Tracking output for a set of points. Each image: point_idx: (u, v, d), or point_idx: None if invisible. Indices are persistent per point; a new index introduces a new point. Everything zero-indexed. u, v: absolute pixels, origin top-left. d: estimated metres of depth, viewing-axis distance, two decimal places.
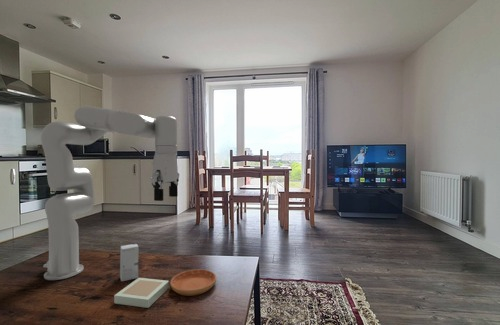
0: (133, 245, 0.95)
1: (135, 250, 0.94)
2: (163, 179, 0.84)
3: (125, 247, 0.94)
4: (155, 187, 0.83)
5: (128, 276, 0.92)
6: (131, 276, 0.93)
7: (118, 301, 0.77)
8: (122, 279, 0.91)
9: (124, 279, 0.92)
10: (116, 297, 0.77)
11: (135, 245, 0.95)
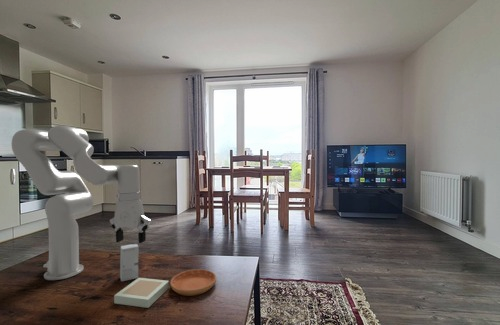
0: (133, 245, 0.95)
1: (135, 250, 0.94)
2: None
3: (125, 246, 0.94)
4: (145, 230, 0.93)
5: (128, 276, 0.92)
6: (132, 276, 0.93)
7: (118, 301, 0.77)
8: (122, 279, 0.91)
9: (124, 279, 0.92)
10: (116, 297, 0.77)
11: (135, 245, 0.95)
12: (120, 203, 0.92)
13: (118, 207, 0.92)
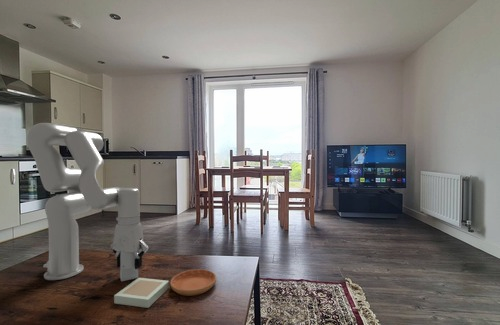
0: None
1: None
2: None
3: None
4: (141, 255, 0.93)
5: (128, 276, 0.92)
6: (132, 276, 0.93)
7: (118, 301, 0.77)
8: (122, 279, 0.91)
9: (124, 279, 0.92)
10: (116, 297, 0.77)
11: None
12: (120, 227, 0.92)
13: (117, 231, 0.92)
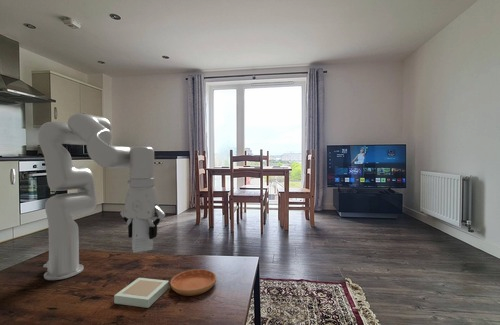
0: None
1: None
2: None
3: None
4: (156, 224, 0.81)
5: (142, 247, 0.80)
6: (145, 247, 0.81)
7: (118, 301, 0.77)
8: (135, 250, 0.79)
9: (137, 250, 0.79)
10: (116, 297, 0.77)
11: None
12: (132, 190, 0.80)
13: (129, 195, 0.80)
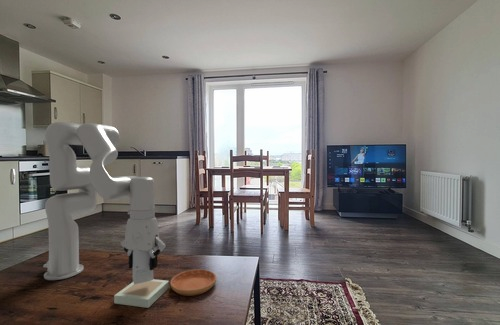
0: None
1: None
2: None
3: None
4: (157, 255, 0.81)
5: (143, 279, 0.80)
6: (146, 278, 0.81)
7: (118, 301, 0.77)
8: (135, 282, 0.79)
9: (138, 282, 0.79)
10: (116, 297, 0.77)
11: None
12: (132, 222, 0.80)
13: (130, 226, 0.80)
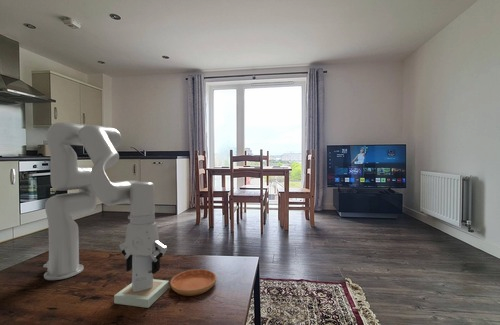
0: None
1: (150, 256, 0.82)
2: None
3: None
4: (159, 258, 0.81)
5: (142, 286, 0.80)
6: (145, 286, 0.81)
7: (118, 301, 0.77)
8: (135, 289, 0.79)
9: (137, 289, 0.79)
10: (116, 297, 0.77)
11: None
12: (132, 227, 0.80)
13: (130, 231, 0.80)
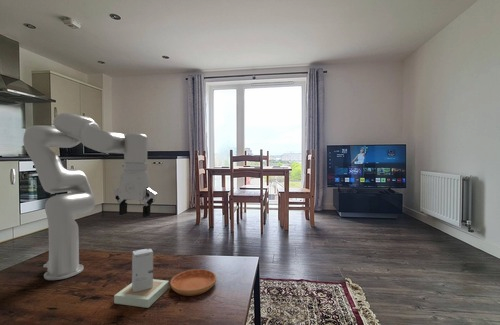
0: (147, 250, 0.83)
1: (150, 256, 0.82)
2: None
3: (138, 252, 0.81)
4: (150, 203, 0.87)
5: (142, 286, 0.80)
6: (145, 286, 0.81)
7: (118, 301, 0.77)
8: (135, 289, 0.79)
9: (137, 289, 0.79)
10: (116, 297, 0.77)
11: (149, 250, 0.83)
12: (125, 173, 0.86)
13: (123, 177, 0.87)
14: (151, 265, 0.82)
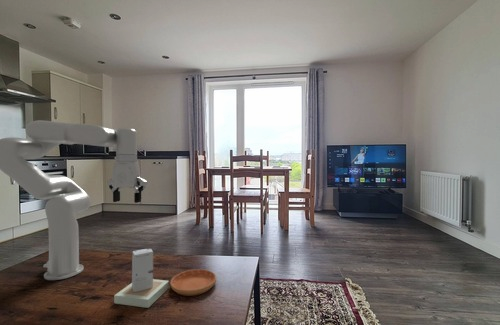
0: (147, 250, 0.83)
1: (150, 256, 0.82)
2: None
3: (138, 252, 0.81)
4: (140, 190, 0.98)
5: (142, 286, 0.80)
6: (145, 286, 0.81)
7: (118, 301, 0.77)
8: (135, 289, 0.79)
9: (137, 289, 0.79)
10: (116, 297, 0.77)
11: (149, 250, 0.83)
12: (118, 164, 0.97)
13: (116, 168, 0.97)
14: (151, 265, 0.82)
